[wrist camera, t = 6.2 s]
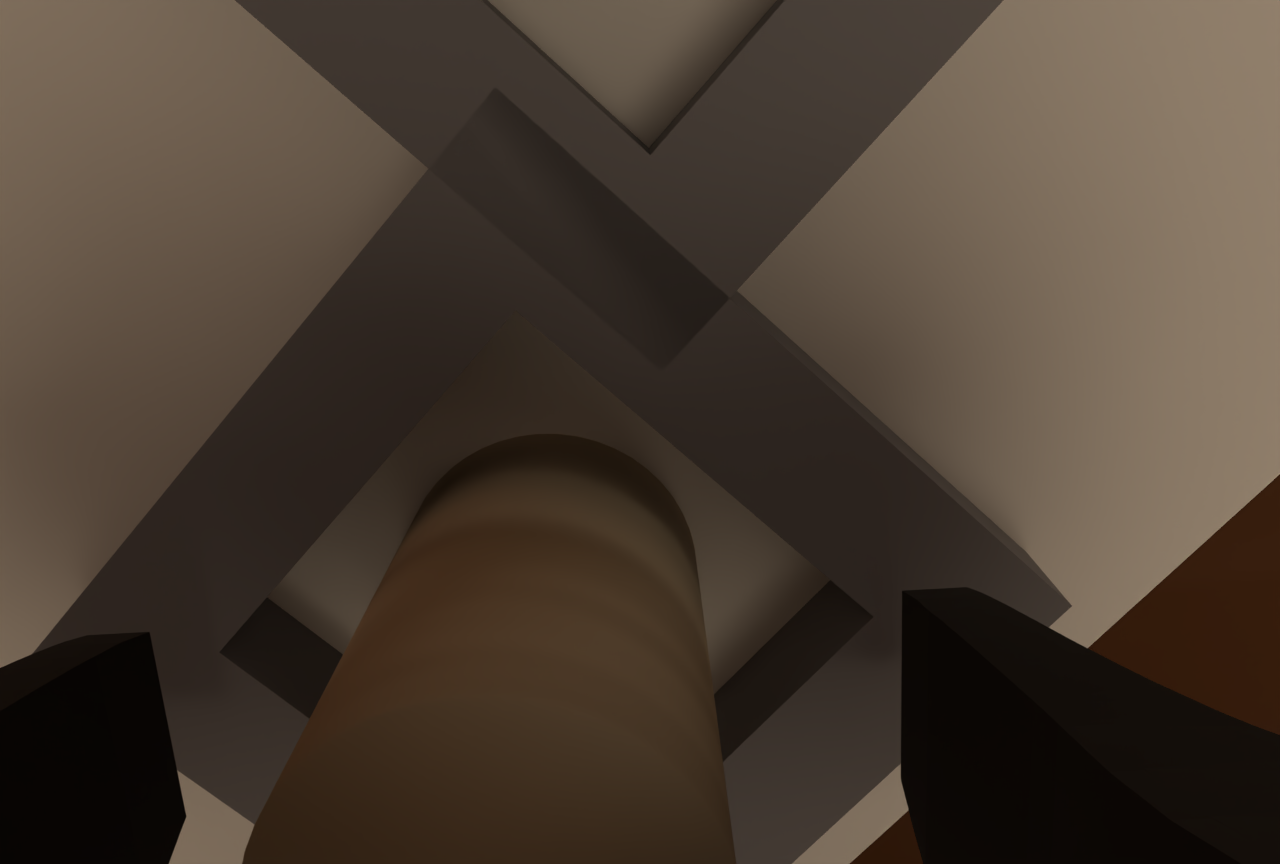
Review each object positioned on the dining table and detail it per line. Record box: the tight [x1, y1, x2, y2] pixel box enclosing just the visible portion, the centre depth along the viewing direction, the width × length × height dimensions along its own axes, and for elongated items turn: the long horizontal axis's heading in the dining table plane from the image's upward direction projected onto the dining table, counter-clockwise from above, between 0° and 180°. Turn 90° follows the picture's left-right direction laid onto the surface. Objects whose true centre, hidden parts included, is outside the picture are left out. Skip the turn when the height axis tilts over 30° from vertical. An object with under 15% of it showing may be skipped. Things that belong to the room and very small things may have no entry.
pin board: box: [0, 0, 1280, 864], centre depth 11 cm, size 22×15×7 cm
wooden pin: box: [242, 434, 736, 864], centre depth 11 cm, size 4×4×6 cm
